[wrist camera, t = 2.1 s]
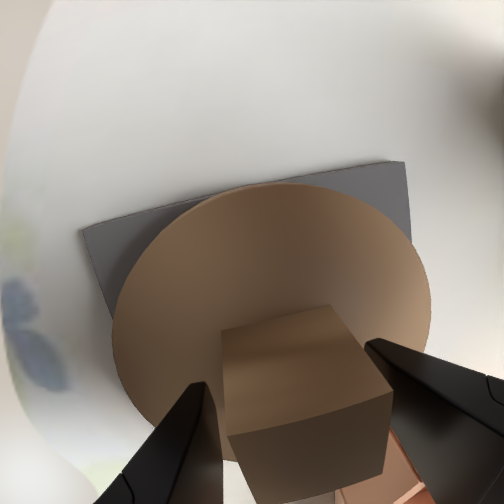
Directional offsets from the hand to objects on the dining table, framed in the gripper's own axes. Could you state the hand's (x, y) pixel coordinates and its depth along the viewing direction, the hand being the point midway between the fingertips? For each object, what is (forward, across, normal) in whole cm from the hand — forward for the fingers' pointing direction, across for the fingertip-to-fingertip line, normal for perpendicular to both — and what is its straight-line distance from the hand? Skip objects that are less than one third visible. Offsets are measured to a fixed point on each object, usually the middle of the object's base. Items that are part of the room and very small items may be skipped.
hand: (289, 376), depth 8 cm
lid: (+2, 0, 0) cm, 2 cm away
